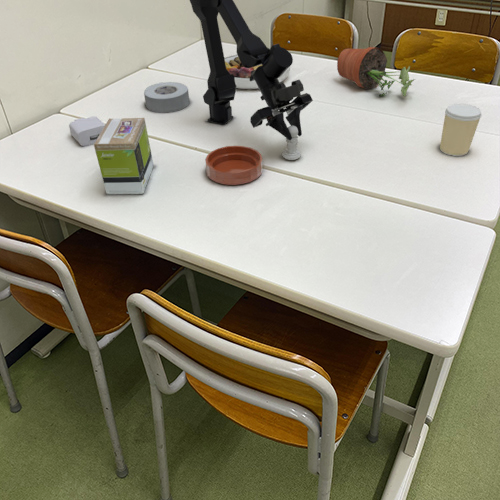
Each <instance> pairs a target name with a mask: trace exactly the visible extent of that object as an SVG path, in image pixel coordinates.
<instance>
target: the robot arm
mask: <svg viewBox="0 0 500 500" xmlns="http://www.w3.org/2000/svg"><path fill="white" fill-rule="evenodd" d="M189 2H190V5H191V10H192V12H193V13H194V15H195V16H196V18H198V20H199V21H200V26H201V30H202V31H201V32H202V35H203V41H204V45H205V52H206V56H207V60H208V61H207V62H208V66H209V75H208V78H207V81H206V83H207V90H206V91H205V93H204V94H203V96H202V98H203V102H204V104H206V105H208V113H209V118H208V119H206V121H207V122H208V123H212V124H217V125H222V126H223V125H226V124H227V123H229V122H230V121H231V120H232V119H234V115H233V113H232V112H233V111H232V109H233V108H232V106H231V102H232V101H235V97H236V92H237V88H236V87H237V86H236V84H235V77H234V75H233V74H230V73H229V71H228V70H227V69H226V64H225V59H224V57H225V54H224V48H223V43H222V38H221V32H220V26H219V21H218V15H220V17H221V19H222V20H223V22H224V24H225V26H226V28H227V29H228V31H229V33H230V34H231V36H232V38H233V40H234V43H235V45H236V55H238V57H239V59H240V62H241V64H242V65H243V66H244V67H245V68H252V67H255V66H258V65H262V66H259V67H258V68H257V69H256V70H253V71H251V75H250V81H254V80H255V82H256V84H257V85H258V87H259V92H260V93H261V96H260V100H261V101H264V102H265V104H266V106H264V107H262V108H260V109H257V110H255V112H254V113H253V114H252V115H251V116H250V124H251V126H252V128H254V129H255V128H257V127H259V126H262V125H263V122H264V120H266V124H265V126H266V127H268V126H269V127H270V128H272V129H273V130H275V131H276V132H278V133H279V134H281V136H283V138H285V139H286V138H287V139H288V140H291V139H292V136H291V134H290V132H289V130H288V127H289V126H296V127H297V129H298V135H297V137H302V135H303V132H302V127H301V111H303V110H304V109H306V107H308V106H309V105H310V104H311V103H312V102H313V101H314V100H313V98H312V96H311V94H310V93H307V92H305V93H301V92H304V90H305V89H304V84H303V83H302V81H301V79H296V80H292V81H291V85H289V86H287V85H286V84H285V83H284V82H279V80H278V78H279V77H281V75H282V74H283V73H284V72H285V71H286V70H287V69H288V68H289V67H290V68H291V66H292V65H293V63H294V62H293V61H294V59H293V55H292V53H291V52H290V51H289V50H287V48H284V47H281V45H280V43H276V44H272V45H271V47H267V45H266V44H265V42H264V41H263V40H262V39H261V38H260V36H258V35H256V34H255V33H253V32H252V31H251V29H250V27H249V26H248V24H247V22H246V20H245V18H244V16H243V15H242V14H241V12H240V10H239V8H238V6H237V5H236V3H235V1H234V0H189ZM284 113H286V114H287V115H286V117H284V116H285V115H284ZM285 120H286V121H287V122H288V124H289V126H288V125H287V123H286V122H285Z"/></svg>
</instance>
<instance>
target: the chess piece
mask: <svg viewBox="0 0 500 500" xmlns="http://www.w3.org/2000/svg"><path fill="white" fill-rule="evenodd" d="M287 127H288V130H289V132H290V134H291V136H292V139H291V140H288V139H287V138H286V137H285V142H286V149H284V150H283V151H282V153H281V156H282V157H283V158H284V159H286V160H289V161H295V160H298V159H300V158H301V156H302V153H301V151H300V150H299V149H298V148H297V145H298V143H299V136H298V129H297V127H296V126H291V125H289V126H287Z"/></svg>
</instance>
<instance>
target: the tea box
mask: <svg viewBox="0 0 500 500" xmlns="http://www.w3.org/2000/svg"><path fill="white" fill-rule="evenodd" d="M104 124H105V126H104V128H103V130H102V131H101V133H100V135H99V136H98V138H97V140H96V142H95V143H94V144H93V147H94V151H95V154H96V158H97V163H98V167H99V170H100V174H101V178H102V182H103V186H104V189H105V193H106V195H142V194H143V195H144V193H145V191H146V187H147V184H148V182H149V179H150V176H151V174H152V171H153V169H154V165H155V164H154V159H153V155H152V150H151V143H150V139H149V134H148V129H147V124H146V119H145V117H128V118H127V117H124V118H122V117H121V118H108V119H107V121H106V123H104Z"/></svg>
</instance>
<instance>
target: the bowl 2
mask: <svg viewBox="0 0 500 500" xmlns="http://www.w3.org/2000/svg"><path fill="white" fill-rule="evenodd" d="M205 171H206V176H207V177H208V178H209V179H210V180H211V181H213V182H215V183H218V184H222V185H228V186H237V185H244V184H248V183H251V182H254V181H255V180H257V179H258V178H259V177H260V176H261V175H262V174H263V156H262V153H261V152H259V151H258V150H257V149H254V148H252V147H249V146H245V145H226V146H223V147H219V148H216V149H214V150H212V151H211V152H209V153H208V154H207V155H206V157H205Z"/></svg>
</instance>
